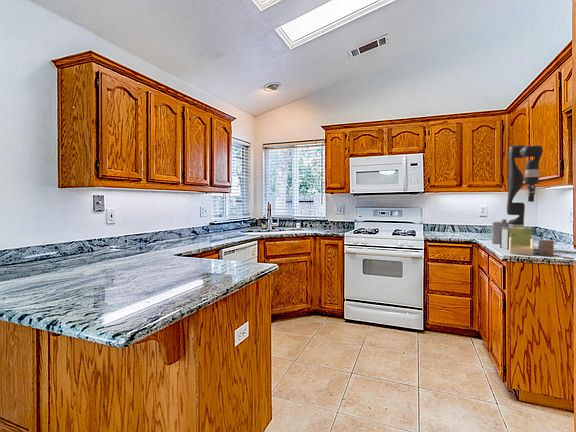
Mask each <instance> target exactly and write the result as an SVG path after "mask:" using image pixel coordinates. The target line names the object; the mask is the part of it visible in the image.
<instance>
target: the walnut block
mask: <svg viewBox="0 0 576 432" xmlns="http://www.w3.org/2000/svg"><path fill="white" fill-rule="evenodd" d="M554 242H555V241H554V240H553V239H538V252H537V253H538V254H539V255H538V256H542V255H551V256H550V257H554V256H553V254H554V246H555V243H554Z"/></svg>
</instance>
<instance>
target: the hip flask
mask: <svg viewBox="0 0 576 432" xmlns="http://www.w3.org/2000/svg"><path fill="white" fill-rule="evenodd" d="M507 221H508V219H505V218H503V219H501V221H492V222H491V223H492V225H491V226H492V230H491V244H492V245H500V228H509V222H507Z"/></svg>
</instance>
